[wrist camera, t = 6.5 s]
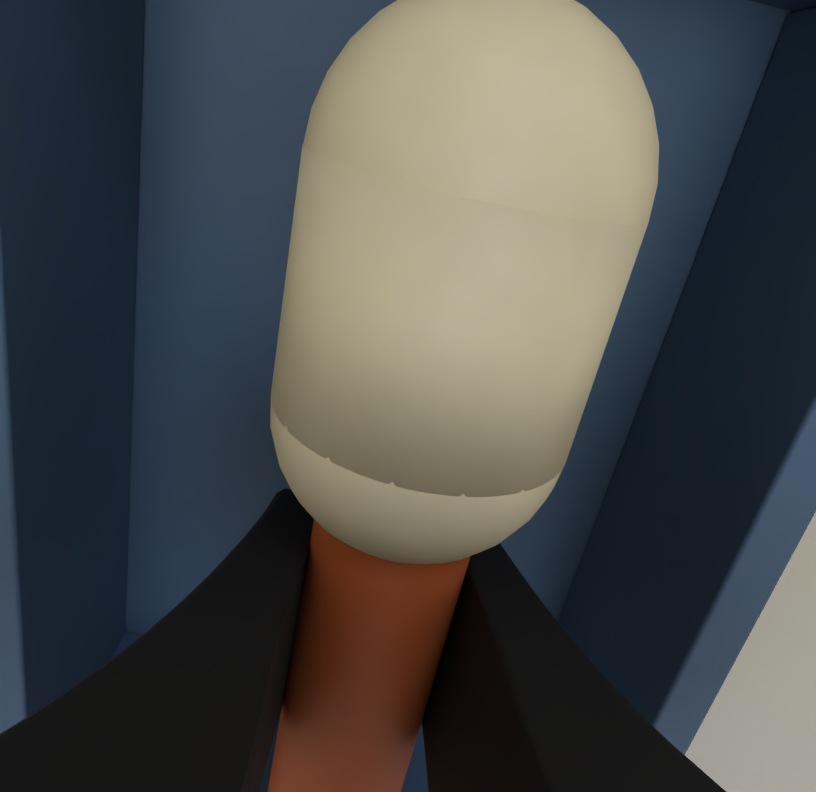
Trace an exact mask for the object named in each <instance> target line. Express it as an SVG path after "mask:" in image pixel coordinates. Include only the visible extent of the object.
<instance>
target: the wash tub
mask: <svg viewBox="0 0 816 792" xmlns="http://www.w3.org/2000/svg"><path fill="white" fill-rule="evenodd" d="M395 1H397V0H0V733H2V732H4V731H5V730H7V729H9V728H10V727H12V726H14V725H15V724H17V723H18V722H20V721H22V720H23V719H25V718H27V717H28V716H30V715H32V714H33V713H35V712H36V711H38V710H40V709H41V708H43V707H44V706H46V705H47V704H49V703H50V702H52V701H53V700H55V699H56V698H58V697H59V696H61V695H62V694H64V693H65V692H67V691H68V690H70V689H71V688H72V687H74V686H75V685H77V684H78V683H79V682H81V681H82V680H84V679H85V678H86V677H88V676H89V675H90V674H92V673H93V672H95V671H96V670H97V669H99V668H100V667H101V666H103V665H104V664H106V663H107V662H108V661H110V660H111V659H113V658H114V657H115V656H117V655H118V654H119V653H121V652H122V651H123V650H124V649H126V648H127V647H128V646H129V645H131V644H132V643H133V642H134V641H136V640H137V639H138V638H139V637H141V636H142V635H143V634H144V633H146V632H147V631H148V630H149V629H150V628H152V627H153V626H154V625H155V624H156V623H158V622H159V621H160V620H161V619H162V618H163V617H165V616H166V615H167V614H168V613H169V612H170V611H171V610H173V609H174V608H175V607H176V606H177V605H178V604H179V603H180V602H181V601H182V600H183V599H184V598H185V597H186V596H188V595H189V594H190V593H191V592H192V591H193V590H194V589H195V588H196V587H197V586H198V585H199V584H200V583H201V582H202V581H203V580H204V579H205V578H206V577H207V576H208V575H209V574H210V573H211V572H212V571H213V570H214V569H215V568H216V567H217V566H218V565H219V564H220V563H221V562H222V561H223V560H224V559H225V558H226V556H227V555H228V554H229V553H230V552H231V551H232V550H233V549H234V548H235V547H236V545H237V544H238V543H239V542H240V541H241V540H242V539H243V538H244V537H245V535H246V534H247V533H248V532H249V530H250V529H251V528H252V527H253V526H254V524H255V523H256V522H257V521H258V519H259V518H260V517H261V515H262V514H263V513H264V511H265V510H266V509H267V507H268V506H269V504H270V503H271V501H272V500H273V498H274V496H275V495H276V493H278V492H279V491H281V490H282V489H284V488H287V489H291V488H290V486H289V484H288V482H287V480H286V478H285V476H284V474H283V472H282V470H281V468H280V466H279V462H278V458H277V454H276V450H275V445H274V441H273V436H272V431H271V427H270V413H271V389H272V381H273V373H274V365H275V357H276V349H277V341H278V333H279V325H280V318H281V310H282V302H283V294H284V286H285V278H286V270H287V262H288V254H289V246H290V238H291V231H292V223H293V215H294V207H295V199H296V191H297V183H298V175H299V167H300V159H301V151H302V144H303V143H304V138H305V134H306V129H307V125H308V120H309V116H310V112H311V107H312V105H313V103H314V101H315V98H316V96H317V94H318V92H319V89H320V87H321V85H322V82H323V80H324V78H325V76H326V73H327V71H328V70H329V68H330V67H331V65H332V64H333V63H334V61H335V60H336V58H337V57H338V55H339V54H340V52H341V51H342V50H343V48H344V47H345V45H346V44H347V42H348V41H349V40H350V38H351V37H352V36H353V35H355V34H356V33H357V32H358V31H359V30H360V29H361V28H362V27H363V26H364V25H365V24H366V23H367V22H368V21H369V20H370V19H371V18H372V17H373V16H375V15H376V14H377V13H378V12H379V11H380V10H382V9H384V8H385V7H387V6H388V5H390V4H392V3H393V2H395ZM575 1H577V2H578V3H580V4H582V5H584V6H585V7H587V8H588V9H589V10H590V11H591V12H592V13H593V14H594V15H595V16H596V17H597V18H598V19H599V20H600V21H601V22H603V23H604V24H605V25H606V26H607V27H608V28H609V29H610V30H611V31H612V32H613V33H614V34H615V35H616V36H617V37H618V39H619V40H620V42H621V43H622V45H623V46H624V48H625V49H626V51H627V52H628V54H629V55H630V57H631V58H632V60H633V61H634V63H635V64H636V66H637V67H638V69H639V71H640V74H641V76H642V79H643V81H644V84H645V86H646V89H647V92H648V94H649V97H650V99H651V102H652V104H653V109H654V115H655V121H656V127H657V134H658V140H659V165H658V185H657V189H656V194H655V198H654V202H653V206H652V210H651V214H650V219H649V223H648V225H647V228H646V231H645V234H644V237H643V240H642V243H641V246H640V249H639V252H638V254H637V257H636V260H635V263H634V266H633V269H632V272H631V275H630V278H629V281H628V284H627V286H626V289H625V292H624V295H623V298H622V301H621V304H620V307H619V310H618V313H617V315H616V318H615V321H614V324H613V327H612V330H611V333H610V336H609V339H608V342H607V344H606V347H605V350H604V353H603V356H602V359H601V362H600V365H599V368H598V371H597V373H596V376H595V379H594V382H593V385H592V388H591V391H590V394H589V397H588V400H587V403H586V405H585V408H584V411H583V414H582V417H581V420H580V423H579V426H578V429H577V432H576V434H575V437H574V440H573V443H572V446H571V449H570V452H569V455H568V458H567V461H566V463H565V465H564V468H563V470H562V472H561V474H560V476H559V478H558V480H557V482H556V484H555V486H554V488H553V490H552V491H551V493H550V494H549V496H548V498H547V499H546V501H545V502H544V503H543V504H542V505H541V507H540V508H539V509H538V510H537V512H536V513H535V514H534V515H533V517H532V518H531V519H530V520H529V521H528V522H527V523H525V524H524V525H523V526H522V527H520V528H519V529H518V530H516V531H515V532H514V533H512V534H511V535H510V536H508V537H507V538H506V539H504V540H503V541H502V542H500V544H501V545H502V547H503V548H504V550H505V551H506V553H507V554H508V555H509V557H510V558H511V560H512V561H513V563H514V564H515V565H516V567H517V568H518V570H519V571H520V573H521V574H522V575H523V577H524V578H525V579H526V581H527V582H528V584H529V585H530V586H531V588H532V589H533V590H534V592H535V593H536V594H537V596H538V597H539V598H540V600H541V601H542V602H543V604H544V605H545V606H546V608H547V609H548V610H549V612H550V613H551V614H552V615H553V617H554V618H555V619H556V620H557V622H558V623H559V624H560V625H561V627H562V628H563V629H564V630H565V632H566V633H567V634H568V635H569V636H570V638H571V639H572V640H573V641H574V642H575V643H576V645H577V646H578V647H579V648H580V649H581V650H582V652H583V653H584V654H585V655H586V656H587V657H588V659H589V660H590V661H591V662H592V663H593V665H594V666H595V667H596V668H597V669H598V670H599V671H600V672H601V673H602V674H603V676H604V677H605V678H606V679H607V680H608V681H609V682H610V683H611V684H612V685H613V686H614V687H615V688H616V689H617V690H618V691H619V692H620V693H621V694H622V695H623V696H624V697H625V699H626V700H627V701H628V702H629V703H630V704H631V705H632V706H633V707H634V708H635V709H636V710H637V711H638V712H639V713H640V714H641V715H642V716H643V717H644V718H645V719H646V720H647V721H648V722H649V723H650V724H651V725H652V726H653V727H654V728H655V729H656V730H658V731H659V732H660V733H661V734H662V735H663V736H664V737H665V738H666V739H667V740H668V741H669V742H670V743H671V744H672V745H674V746H675V747H676V748H677V749H678V750H679V751H680V752H681V753H683V754H684V755H685V753H686V751H687V749H688V747H689V746H690V744H691V742H692V740H693V738H694V736H695V734H696V733H697V731H698V729H699V727H700V725H701V723H702V721H703V720H704V718H705V716H706V714H707V712H708V710H709V708H710V707H711V705H712V703H713V701H714V699H715V697H716V695H717V693H718V692H719V690H720V688H721V686H722V684H723V682H724V680H725V679H726V677H727V675H728V673H729V671H730V669H731V667H732V666H733V664H734V662H735V660H736V658H737V656H738V654H739V653H740V651H741V649H742V647H743V645H744V643H745V641H746V640H747V638H748V636H749V634H750V632H751V630H752V628H753V627H754V625H755V623H756V621H757V619H758V617H759V615H760V614H761V612H762V610H763V608H764V606H765V604H766V602H767V601H768V599H769V597H770V595H771V593H772V591H773V589H774V588H775V586H776V584H777V582H778V580H779V578H780V576H781V575H782V573H783V571H784V569H785V567H786V565H787V563H788V562H789V560H790V558H791V556H792V554H793V552H794V550H795V549H796V547H797V545H798V543H799V541H800V539H801V537H802V536H803V534H804V532H805V530H806V528H807V526H808V524H809V523H810V521H811V519H812V517H813V515H814V513H815V511H816V0H575ZM280 715H281V713H280ZM279 721H280V716H279V720H278V723H277V727H276V731H275V734H274V738H273V741H272V745H271V749H270V752H269V756H268V759H267V763H266V766H265V770H264V774H263V777H262V781H261V784H260V788H259V792H267V791H268V785H269V780H270V774H271V768H272V762H273V756H274V750H275V744H276V738H277V733H278V727H279ZM401 792H429V790H428V780H427V770H426V759H425V749H424V739H423V729H422V722H421V726H420V729H419V732H418V736H417V739H416V742H415V746H414V749H413V753H412V756H411V759H410V763H409V766H408V769H407V773H406V776H405V780H404V783H403V786H402V790H401Z"/></svg>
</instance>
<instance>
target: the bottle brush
mask: <svg viewBox="0 0 816 792" xmlns="http://www.w3.org/2000/svg"><path fill="white" fill-rule="evenodd" d="M658 165H659V140H658V134H657V127H656V121H655V115H654V109H653V104H652V102H651V99H650V97H649V94H648V92H647V89H646V86H645V84H644V81H643V79H642V76H641V74H640V71H639V69H638V67H637V66H636V64H635V63H634V61H633V60H632V58H631V57H630V55H629V54H628V52H627V51H626V49H625V48H624V46H623V45H622V43H621V42H620V40H619V39H618V37H617V36H616V35H615V34H614V33H613V32H612V31H611V30H610V29H609V28H608V27H607V26H606V25H605V24H604V23H603V22H601V21H600V20H599V19H598V18H597V17H596V16H595V15H594V14H593V13H592V12H591V11H590V10H589V9H588V8H587V7H585V6H584V5H582V4H580V3H578V2H577V1H575V0H397V1H395V2H393V3H392V4H390V5H388V6H387V7H385V8H384V9H382V10H380V11H379V12H378V13H377V14H376V15H375V16H373V17H372V18H371V19H370V20H369V21H368V22H367V23H366V24H365V25H364V26H363V27H362V28H361V29H360V30H359V31H358V32H357V33H356V34H355V35H353V36H352V37H351V38H350V40H349V41H348V42H347V44H346V45H345V47H344V48H343V50H342V51H341V52H340V54H339V55H338V57H337V58H336V60H335V61H334V63H333V64H332V65H331V67H330V68H329V70H328V71H327V73H326V76H325V78H324V80H323V82H322V85H321V87H320V89H319V92H318V94H317V96H316V98H315V101H314V103H313V105H312V107H311V112H310V116H309V120H308V125H307V129H306V134H305V138H304V143H303V144H302V151H301V159H300V167H299V175H298V183H297V191H296V199H295V207H294V215H293V223H292V231H291V238H290V246H289V254H288V262H287V270H286V278H285V286H284V294H283V302H282V310H281V318H280V325H279V333H278V341H277V349H276V357H275V365H274V373H273V381H272V389H271V413H270V427H271V431H272V436H273V441H274V445H275V450H276V454H277V458H278V462H279V466H280V468H281V470H282V472H283V474H284V476H285V478H286V480H287V482H288V484H289V486H290V488H291V490H292V492H293V493H294V495H295V496H296V498H297V500H298V501H299V503H300V504H301V505H302V506H303V507H304V508H305V509H306V511H307V512H308V513H309V514H310V515H311V516H312V517H313V518H314V522H313V527H312V533H311V541H310V548H309V554H308V560H307V565H306V571H305V577H304V583H303V589H302V595H301V601H300V607H299V612H298V618H297V624H296V630H295V636H294V642H293V648H292V654H291V660H290V666H289V672H288V677H287V683H286V689H285V695H284V701H283V705H282V709H281V715H280V721H279V727H278V733H277V738H276V744H275V750H274V756H273V762H272V768H271V774H270V780H269V785H268V791H267V792H401V790H402V786H403V783H404V780H405V776H406V773H407V769H408V766H409V763H410V759H411V756H412V753H413V749H414V746H415V742H416V739H417V736H418V732H419V729H420V726H421V722H422V719H423V715H424V712H425V709H426V705H427V702H428V699H429V695H430V692H431V688H432V685H433V682H434V678H435V675H436V672H437V668H438V665H439V661H440V658H441V655H442V651H443V648H444V644H445V641H446V638H447V634H448V631H449V628H450V624H451V621H452V617H453V614H454V611H455V607H456V604H457V601H458V597H459V594H460V590H461V587H462V584H463V580H464V577H465V574H466V570H467V567H468V563H469V560H470V557H471V556H472V555H474V554H477V553H479V552H482V551H484V550H487V549H489V548H491V547H494V546H496V545H498V544H499V543H500V542H502V541H503V540H504V539H506V538H507V537H508V536H510V535H511V534H512V533H514V532H515V531H516V530H518V529H519V528H520V527H522V526H523V525H524V524H525V523H527V522H528V521H529V520H530V519H531V518H532V517H533V515H534V514H535V513H536V512H537V510H538V509H539V508H540V507H541V505H542V504H543V503H544V502H545V501H546V499H547V498H548V496H549V494H550V493H551V491H552V490H553V488H554V486H555V484H556V482H557V480H558V478H559V476H560V474H561V472H562V470H563V468H564V465H565V463H566V461H567V458H568V455H569V452H570V449H571V446H572V443H573V440H574V437H575V434H576V432H577V429H578V426H579V423H580V420H581V417H582V414H583V411H584V408H585V405H586V403H587V400H588V397H589V394H590V391H591V388H592V385H593V382H594V379H595V376H596V373H597V371H598V368H599V365H600V362H601V359H602V356H603V353H604V350H605V347H606V344H607V342H608V339H609V336H610V333H611V330H612V327H613V324H614V321H615V318H616V315H617V313H618V310H619V307H620V304H621V301H622V298H623V295H624V292H625V289H626V286H627V284H628V281H629V278H630V275H631V272H632V269H633V266H634V263H635V260H636V257H637V254H638V252H639V249H640V246H641V243H642V240H643V237H644V234H645V231H646V228H647V225H648V223H649V219H650V214H651V210H652V206H653V202H654V198H655V194H656V189H657V185H658Z"/></svg>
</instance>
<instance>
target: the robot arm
mask: <svg viewBox="0 0 816 792" xmlns="http://www.w3.org/2000/svg"><path fill="white" fill-rule="evenodd" d="M313 522H314V518H313V517H312V516H311V515H310V514H309V513H308V512H307V511H306V509H305V508H304V507H303V506H302V505H301V504H300V503H299V501H298V500H297V498H296V496H295V495H294V493H293V492H292V490H291V489H287V488H284V489H282V490H281V491H279V492H278V493H276V495H275V496H274V498H273V500H272V501H271V503H270V504H269V506H268V507H267V509H266V510H265V511H264V513H263V514H262V515H261V517H260V518H259V519H258V521H257V522H256V523H255V524H254V526H253V527H252V528H251V529H250V530H249V532H248V533H247V534H246V535H245V537H244V538H243V539H242V540H241V541H240V542H239V543H238V544H237V545H236V547H235V548H234V549H233V550H232V551H231V552H230V553H229V554H228V555H227V556H226V558H225V559H224V560H223V561H222V562H221V563H220V564H219V565H218V566H217V567H216V568H215V569H214V570H213V571H212V572H211V573H210V574H209V575H208V576H207V577H206V578H205V579H204V580H203V581H202V582H201V583H200V584H199V585H198V586H197V587H196V588H195V589H194V590H193V591H192V592H191V593H190V594H189V595H188V596H186V597H185V598H184V599H183V600H182V601H181V602H180V603H179V604H178V605H177V606H176V607H175V608H174V609H173V610H171V611H170V612H169V613H168V614H167V615H166V616H165V617H163V618H162V619H161V620H160V621H159V622H158V623H156V624H155V625H154V626H153V627H152V628H150V629H149V630H148V631H147V632H146V633H144V634H143V635H142V636H141V637H139V638H138V639H137V640H136V641H134V642H133V643H132V644H131V645H129V646H128V647H127V648H126V649H124V650H123V651H122V652H121V653H119V654H118V655H117V656H115V657H114V658H113V659H111V660H110V661H108V662H107V663H106V664H104V665H103V666H101V667H100V668H99V669H97V670H96V671H95V672H93V673H92V674H90V675H89V676H88V677H86V678H85V679H84V680H82V681H81V682H79V683H78V684H77V685H75V686H74V687H72V688H71V689H70V690H68V691H67V692H65V693H64V694H62V695H61V696H59V697H58V698H56V699H55V700H53V701H52V702H50V703H49V704H47V705H46V706H44V707H43V708H41V709H40V710H38V711H36V712H35V713H33V714H32V715H30V716H28V717H27V718H25V719H23V720H22V721H20V722H18V723H17V724H15V725H14V726H12V727H10V728H9V729H7V730H5V731H4V732H2V733H0V792H259V788H260V784H261V781H262V777H263V774H264V770H265V766H266V763H267V759H268V756H269V752H270V749H271V745H272V741H273V738H274V734H275V731H276V727H277V723H278V720H279V716H280V713H281V709H282V705H283V701H284V695H285V689H286V683H287V677H288V672H289V666H290V660H291V654H292V648H293V642H294V636H295V630H296V624H297V618H298V612H299V607H300V601H301V595H302V589H303V583H304V577H305V571H306V565H307V560H308V554H309V548H310V541H311V533H312V527H313ZM422 729H423V739H424V749H425V759H426V770H427V780H428V790H429V792H726V791H725V790H724V789H722V788H721V787H720V786H719V785H718V784H717V783H715V782H714V781H713V780H712V779H711V778H710V777H709V776H707V775H706V774H705V773H704V772H703V771H702V770H701V769H700V768H698V767H697V766H696V765H695V764H694V763H693V762H692V761H690V760H689V759H688V758H687V757H686V756H685V755H684V754H683V753H681V752H680V751H679V750H678V749H677V748H676V747H675V746H674V745H672V744H671V743H670V742H669V741H668V740H667V739H666V738H665V737H664V736H663V735H662V734H661V733H660V732H659V731H658V730H656V729H655V728H654V727H653V726H652V725H651V724H650V723H649V722H648V721H647V720H646V719H645V718H644V717H643V716H642V715H641V714H640V713H639V712H638V711H637V710H636V709H635V708H634V707H633V706H632V705H631V704H630V703H629V702H628V701H627V700H626V699H625V697H624V696H623V695H622V694H621V693H620V692H619V691H618V690H617V689H616V688H615V687H614V686H613V685H612V684H611V683H610V682H609V681H608V680H607V679H606V678H605V677H604V676H603V674H602V673H601V672H600V671H599V670H598V669H597V668H596V667H595V666H594V665H593V663H592V662H591V661H590V660H589V659H588V657H587V656H586V655H585V654H584V653H583V652H582V650H581V649H580V648H579V647H578V646H577V645H576V643H575V642H574V641H573V640H572V639H571V638H570V636H569V635H568V634H567V633H566V632H565V630H564V629H563V628H562V627H561V625H560V624H559V623H558V622H557V620H556V619H555V618H554V617H553V615H552V614H551V613H550V612H549V610H548V609H547V608H546V606H545V605H544V604H543V602H542V601H541V600H540V598H539V597H538V596H537V594H536V593H535V592H534V590H533V589H532V588H531V586H530V585H529V584H528V582H527V581H526V579H525V578H524V577H523V575H522V574H521V573H520V571H519V570H518V568H517V567H516V565H515V564H514V563H513V561H512V560H511V558H510V557H509V555H508V554H507V553H506V551H505V550H504V548H503V547H502V545H501V544H500V543H499V544H498V545H496V546H494V547H491V548H489V549H487V550H484V551H482V552H479V553H477V554H474V555H472V556H471V557H470V560H469V563H468V567H467V570H466V574H465V577H464V580H463V584H462V587H461V590H460V594H459V597H458V601H457V604H456V607H455V611H454V614H453V617H452V621H451V624H450V628H449V631H448V634H447V638H446V641H445V644H444V648H443V651H442V655H441V658H440V661H439V665H438V668H437V672H436V675H435V678H434V682H433V685H432V688H431V692H430V695H429V699H428V702H427V705H426V709H425V712H424V715H423V719H422Z"/></svg>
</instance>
